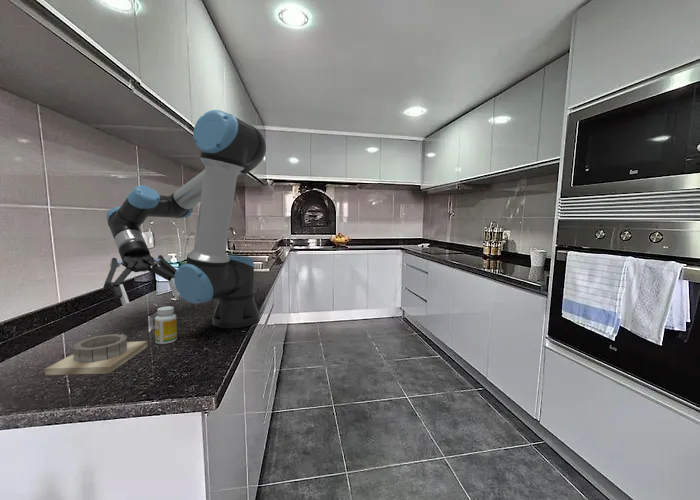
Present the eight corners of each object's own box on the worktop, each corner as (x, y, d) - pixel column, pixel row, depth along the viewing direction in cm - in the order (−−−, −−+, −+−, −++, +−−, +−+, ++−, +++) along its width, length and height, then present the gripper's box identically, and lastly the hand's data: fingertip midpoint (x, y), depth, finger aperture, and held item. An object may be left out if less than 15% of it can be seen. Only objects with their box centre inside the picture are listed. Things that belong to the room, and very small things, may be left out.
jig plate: (147, 346, 82) (146, 330, 82) (109, 373, 67) (108, 353, 67) (95, 347, 81) (94, 331, 80) (45, 375, 66) (44, 355, 66)
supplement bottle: (151, 344, 83) (150, 310, 83) (161, 337, 89) (160, 305, 88) (171, 344, 84) (170, 310, 83) (180, 337, 89) (179, 305, 89)
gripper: (170, 252, 108) (192, 300, 100) (79, 257, 88) (98, 318, 80) (177, 238, 105) (200, 287, 97) (83, 240, 85) (103, 301, 77)
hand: (154, 301), depth 89 cm, fingers open, 13 cm apart
